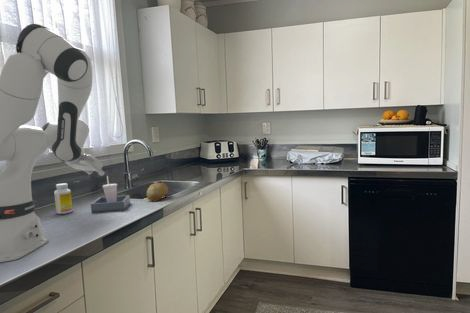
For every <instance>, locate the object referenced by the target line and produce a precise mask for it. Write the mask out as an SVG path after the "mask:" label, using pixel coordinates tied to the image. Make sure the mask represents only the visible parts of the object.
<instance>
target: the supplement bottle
mask: <svg viewBox="0 0 470 313" xmlns="http://www.w3.org/2000/svg"><path fill="white" fill-rule="evenodd" d="M68 185H69V184H68V183H66V182H64V183H63V182H62V183H57V184H55V188H56V190H54V191H53V192H54V193H53V194H54V202H55V211H56V214H58V215H65V214H70V213H72V212H73V211H74V210H73V201H72V200H73V199H72V190H71V189H70V188H68Z"/></svg>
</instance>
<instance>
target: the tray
mask: <svg viewBox="0 0 470 313" xmlns="http://www.w3.org/2000/svg"><path fill="white" fill-rule="evenodd" d="M130 198H131V196H130V195H129V194H128V195H126V194H125V195H117V202H107V200H106V196H99V197H98V198H96V199H95V200H94V201H93V202H91V203H90V209H91V210H90V211H91V214H96V213H99V214H100V213H110V212H123V211H126V209H127V208H128V207H129V205H130V204H131V199H130Z"/></svg>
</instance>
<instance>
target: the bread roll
mask: <svg viewBox="0 0 470 313" xmlns="http://www.w3.org/2000/svg"><path fill="white" fill-rule="evenodd" d="M168 187H169V186H168V185H167V183H165V182H155V183H152V184H150V185H149V187H148V188H147V191H146V197H147V199H148V200H149V201H150V202H156V201H159V200H161V199H163V198H165V197H166V196H167V195H168V194H169V188H168Z"/></svg>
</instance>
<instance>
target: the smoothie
mask: <svg viewBox="0 0 470 313" xmlns="http://www.w3.org/2000/svg"><path fill="white" fill-rule="evenodd" d="M106 182H107V184H103V185H102V189H103V192H104V195H105V196H104V197H106V200H107V202H117V196H118V195H117V193H118V191H117V190H118V189H117V188H118V183H110V182H109V175H106Z"/></svg>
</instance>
